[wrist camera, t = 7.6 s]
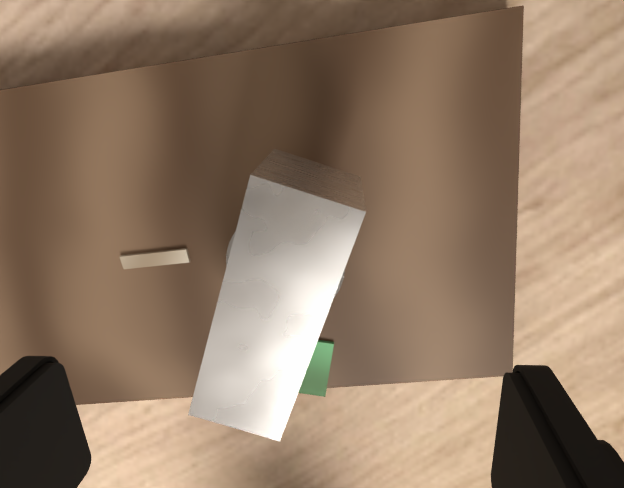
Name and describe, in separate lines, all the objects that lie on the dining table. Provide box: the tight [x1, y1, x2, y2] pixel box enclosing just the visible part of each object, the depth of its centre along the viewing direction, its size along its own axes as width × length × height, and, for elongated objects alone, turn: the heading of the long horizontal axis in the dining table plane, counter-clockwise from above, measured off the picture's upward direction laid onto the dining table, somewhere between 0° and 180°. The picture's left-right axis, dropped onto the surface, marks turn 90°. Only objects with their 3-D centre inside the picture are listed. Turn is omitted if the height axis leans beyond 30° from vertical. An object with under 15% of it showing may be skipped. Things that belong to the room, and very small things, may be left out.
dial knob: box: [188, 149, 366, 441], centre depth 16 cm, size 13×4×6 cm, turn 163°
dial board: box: [0, 6, 524, 405], centre depth 19 cm, size 26×15×2 cm, turn 98°
